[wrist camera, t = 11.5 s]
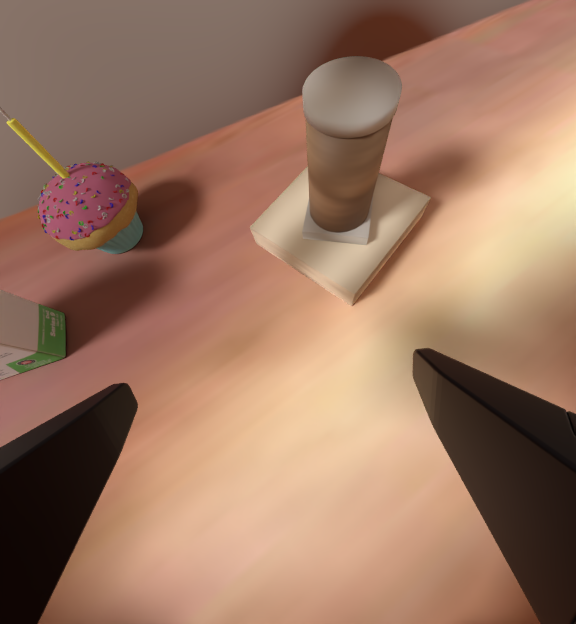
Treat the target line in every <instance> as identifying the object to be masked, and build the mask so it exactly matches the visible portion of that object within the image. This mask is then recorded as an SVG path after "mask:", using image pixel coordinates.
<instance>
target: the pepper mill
mask: <svg viewBox="0 0 576 624" xmlns="http://www.w3.org/2000/svg"><path fill="white" fill-rule="evenodd" d="M401 90H402V83H401V79H400V77H399V75H398V73H397V72H396V71H395V70H394V69H393V68H392V67H391V66H390V65H388V64H386V63H384V62H382V61H380V60H377V59H374V58H369V57H360V56H353V57H344V58H339V59H336V60H332V61H330V62H327V63H325V64H323V65H321V66H320V67H318V68H317V69H316V70H315V71H313V72H312V73H311V74H310V75H309V77H308V78H307V79H306V81H305V83H304V86H303V112H304V116H305V118H306V139H307V161H308V183H309V201H308V206H307V211H306V216H305V220H304V225H303V230H302V234H303V239H312V240H321V241H331V242H341V243H350V244H360V245H366V244H367V241H368V237H369V228H370V220H371V211H372V203H373V194H374V189H375V185H376V181H377V177H378V174H379V170H380V166H381V162H382V158H383V154H384V150H385V146H386V142H387V138H388V134H389V130H390V126H391V122H392V118H393V116H394V115H395V113H396V110H397V106H398V103H399V99H400V95H401Z"/></svg>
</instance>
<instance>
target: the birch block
mask: <svg viewBox="0 0 576 624" xmlns="http://www.w3.org/2000/svg"><path fill="white" fill-rule="evenodd" d="M430 198H431V197H429V196H427V195H425V194H423V193H421V192H418V191H416V190H414V189H412V188H410V187H408V186H406V185H403V184H401V183H399V182H397V181H395V180H393V179H390V178H388V177H386V176H384V175H382V174H380V173H379V174H378V177H377V181H376V185H375V189H374V194H373V203H372V211H371V220H370V228H369V237H368V241H367V244H366V245H360V244H350V243H341V242H331V241H321V240H312V239H303V234H302V230H303V225H304V220H305V216H306V211H307V206H308V201H309V183H308V166H307V167H306V169H305V170H304V171H303V172H302V173H301V174H300V175H299V176H298V177H297V178H296V179H295V180H294V181H293V182H292V183H291V184H290V185H289V186H288V188H287V189H286V190H285V191H284V192H283V193H282V194H281V195H280V196H279V197H278V198H277V199H276V200H275V201H274V202H273V203H272V204H271V205H270V207H269V208H268V209H267V210H266V211H265V212H264V213H263V214H262V215H261V216H260V217H259V218H258V219H257V220H256V221H255V222H254V223H253V225H252V226H251V227H250V229H251V231H252V234H253V236H254V239H255V241H256V244H258V245H259V246H261V247H262V248H264V249H265V250H267V251H268V252H270V253H271V254H273V255H274V256H276V257H277V258H279V259H281V260H282V261H284V262H285V263H287V264H288V265H290V266H291V267H293V268H294V269H296V270H297V271H299V272H300V273H302V274H303V275H305V276H306V277H308V278H309V279H311V280H312V281H314V282H315V283H317V284H318V285H320V286H321V287H323V288H324V289H326V290H327V291H329V292H330V293H332V294H333V295H335V296H337V297H338V298H340V299H341V300H343V301H344V302H346V303H347V304H349V305H350V306H353V304H354V303H355V302H356V300H357V299H358V298H359V297H360V295H361V294H362V293H363V291H364V290H365V289H366V288H367V286H368V285H369V284H370V282H371V281H372V280H373V279H374V277H375V276H376V275H377V273H378V272H379V271H380V270H381V268H382V267H383V266H384V265H385V263H386V262H387V261H388V259H389V258H390V257H391V256H392V254H393V253H394V252H395V250H396V249H397V248H398V247H399V245H400V244H401V243H402V241H403V240H404V239H405V238H406V236H407V235H408V234H409V232H410V231H411V230H412V229H413V227H414V226H415V225H416V223H417V222H418V221H419V220H420V218H421V217H422V215H423V213H424V211H425V209H426V207H427V205H428V203H429V200H430Z"/></svg>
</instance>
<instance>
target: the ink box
mask: <svg viewBox="0 0 576 624" xmlns="http://www.w3.org/2000/svg"><path fill="white" fill-rule="evenodd" d="M65 356H66V333H65V315H64V313H62V312H59V311H57V310H54V309H51V308H48V307H46V306H43V305H40V304H38V303H35V302H32V301H30V300H27V299H24V298H21V297H19V296H16V295H13V294H11V293H8V292H5V291H3V290H0V380H2V379H5V378H8V377H11V376H13V375H16V374H19V373H22V372H25V371H28V370H31V369H34V368H37V367H40V366H43V365H46V364H49V363H51V362H54V361H57V360H60V359H63V358H64V357H65Z"/></svg>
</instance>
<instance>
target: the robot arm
mask: <svg viewBox="0 0 576 624" xmlns="http://www.w3.org/2000/svg"><path fill="white" fill-rule="evenodd" d="M413 378H414V381H415V384H416V386H417V389H418V391H419V394H420V396H421V399H422V401H423V403H424V406H425V408H426V411H427V413H428V416H429V418H430V420H431V423H432V425H433V427H434V429H435V431H436V433H437V435H438V437H439V439H440V440H441V442H442V444H443V446H444V448H445V450H446V451H447V453H448V455H449V457H450V459H451V461H452V462H453V464H454V466H455V468H456V470H457V472H458V473H459V475H460V477H461V479H462V481H463V482H464V484H465V486H466V488H467V490H468V492H469V493H470V495H471V497H472V499H473V501H474V503H475V504H476V506H477V508H478V510H479V512H480V514H481V515H482V517H483V519H484V521H485V523H486V524H487V526H488V528H489V530H490V532H491V534H492V535H493V537H494V539H495V541H496V543H497V545H498V546H499V548H500V550H501V552H502V554H503V556H504V557H505V559H506V561H507V563H508V565H509V566H510V568H511V570H512V572H513V574H514V576H515V577H516V579H517V581H518V583H519V585H520V587H521V588H522V590H523V592H524V594H525V596H526V598H527V599H528V601H529V603H530V605H531V607H532V608H533V610H534V612H535V614H536V616H537V618H538V619H539V621H540V623H541V624H576V414H575V413H572V412H570V411H568V412H566V410H565V409H563V408H561V407H559V406H557V405H554V404H552V403H550V402H548V401H546V400H543V399H541V398H539V397H537V396H534V395H532V394H530V393H528V392H526V391H523V390H521V389H519V388H517V387H515V386H512V385H510V384H508V383H506V382H503V381H501V380H499V379H497V378H495V377H492V376H490V375H488V374H486V373H483V372H481V371H479V370H477V369H475V368H472V367H470V366H468V365H466V364H463V363H461V362H459V361H457V360H455V359H452V358H450V357H448V356H446V355H443V354H441V353H439V352H437V351H435V350H432V349H430V348H424V349H416V350H415V351H414V353H413ZM137 408H138V403H137V400H136V398H135V396H134V394H133V392H132V390H131V388H130V386H129V385H128V384H127V383H119V384H113V385H111V386H109V387H107V388H105V389H103V390H102V391H100V392H98V393H96V394H95V395H93V396H91V397H89V398H87V399H86V400H84V401H82V402H80V403H79V404H77V405H75V406H73V407H71V408H70V409H68V410H66V411H64V412H63V413H61V414H59V415H57V416H55V417H54V418H52V419H50V420H48V421H47V422H45V423H43V424H41V425H39V426H38V427H36V428H34V429H32V430H31V431H29V432H27V433H25V434H23V435H22V436H20V437H18V438H16V439H15V440H13V441H11V442H9V443H7V444H6V445H4V446H2V447H0V624H38V622H39V620H40V618H41V616H42V614H43V612H44V610H45V608H46V606H47V604H48V602H49V600H50V598H51V596H52V594H53V592H54V589H55V587H56V585H57V583H58V581H59V579H60V577H61V575H62V573H63V571H64V569H65V567H66V565H67V563H68V561H69V559H70V557H71V555H72V553H73V551H74V549H75V546H76V544H77V542H78V540H79V538H80V536H81V534H82V532H83V530H84V528H85V526H86V524H87V522H88V520H89V518H90V516H91V514H92V512H93V510H94V508H95V505H96V503H97V501H98V499H99V497H100V495H101V493H102V491H103V489H104V487H105V485H106V483H107V481H108V479H109V477H110V475H111V473H112V471H113V469H114V467H115V465H116V462H117V460H118V458H119V456H120V454H121V451H122V449H123V446H124V443H125V441H126V438H127V436H128V433H129V430H130V428H131V425H132V422H133V420H134V417H135V415H136V412H137Z"/></svg>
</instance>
